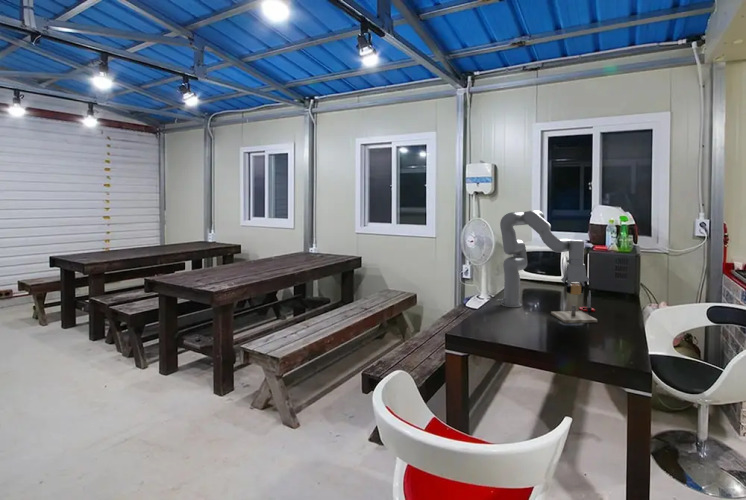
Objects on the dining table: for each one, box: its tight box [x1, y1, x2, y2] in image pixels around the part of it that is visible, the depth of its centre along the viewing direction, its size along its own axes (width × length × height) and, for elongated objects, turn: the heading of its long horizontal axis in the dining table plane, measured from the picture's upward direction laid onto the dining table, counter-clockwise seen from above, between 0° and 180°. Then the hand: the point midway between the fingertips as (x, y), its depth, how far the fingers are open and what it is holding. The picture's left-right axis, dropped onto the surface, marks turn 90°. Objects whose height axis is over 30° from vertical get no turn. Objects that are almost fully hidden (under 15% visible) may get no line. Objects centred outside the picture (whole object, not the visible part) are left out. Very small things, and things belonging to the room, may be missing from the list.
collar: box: [568, 283, 582, 296], centre depth 241 cm, size 6×6×5 cm
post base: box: [550, 304, 598, 324], centre depth 243 cm, size 18×18×8 cm
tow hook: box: [578, 290, 596, 313], centre depth 260 cm, size 8×13×9 cm
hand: (574, 292), depth 241 cm, fingers closed on collar, 6 cm apart
